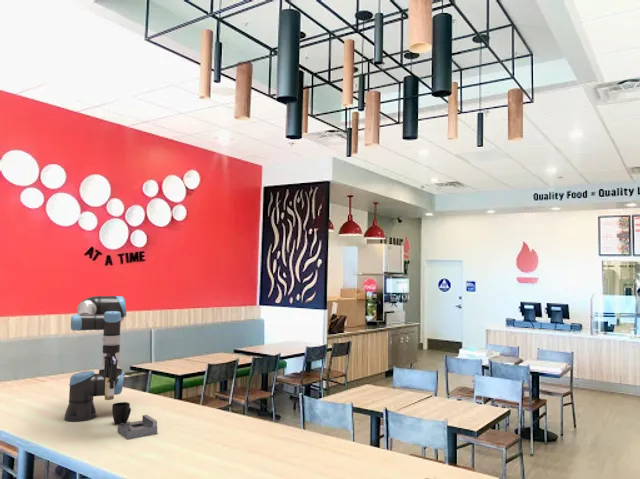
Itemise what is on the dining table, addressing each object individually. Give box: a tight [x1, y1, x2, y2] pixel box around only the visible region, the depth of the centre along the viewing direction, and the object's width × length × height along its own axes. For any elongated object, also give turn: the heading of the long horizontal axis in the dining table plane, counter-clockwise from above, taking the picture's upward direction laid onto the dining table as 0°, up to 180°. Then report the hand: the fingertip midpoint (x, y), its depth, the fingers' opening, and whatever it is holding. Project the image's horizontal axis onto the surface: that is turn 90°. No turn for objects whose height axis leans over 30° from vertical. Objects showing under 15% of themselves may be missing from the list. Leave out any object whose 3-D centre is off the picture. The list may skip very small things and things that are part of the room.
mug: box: [111, 401, 132, 426], centre depth 260 cm, size 8×12×10 cm
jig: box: [117, 414, 158, 440], centre depth 246 cm, size 14×14×6 cm
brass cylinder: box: [104, 377, 115, 401], centre depth 243 cm, size 4×4×10 cm
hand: (109, 394), depth 243 cm, fingers closed on brass cylinder, 4 cm apart
